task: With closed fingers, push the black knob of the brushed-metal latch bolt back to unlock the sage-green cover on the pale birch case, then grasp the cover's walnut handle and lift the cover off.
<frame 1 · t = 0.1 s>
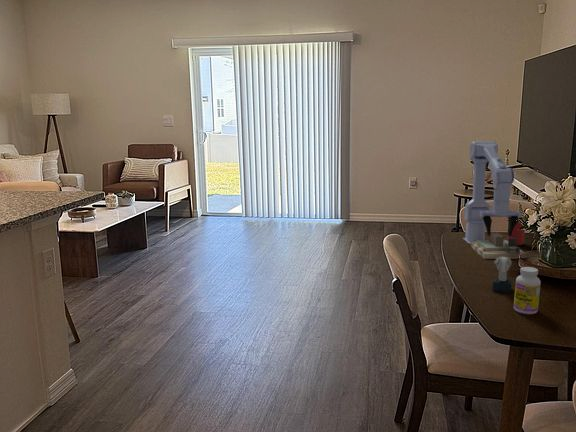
hand: (498, 235, 207), 10 cm above the table, fingers open, 7 cm apart
supplement bottle: (525, 311, 160), on the table
case: (497, 252, 220), on the table
beer can: (515, 244, 233), on the table
latch bolt: (510, 242, 215), point 5 cm above the table, slide at 0.0 cm
white and black piece: (501, 290, 178), on the table
cover: (495, 246, 222), point 2 cm above the table, touching case
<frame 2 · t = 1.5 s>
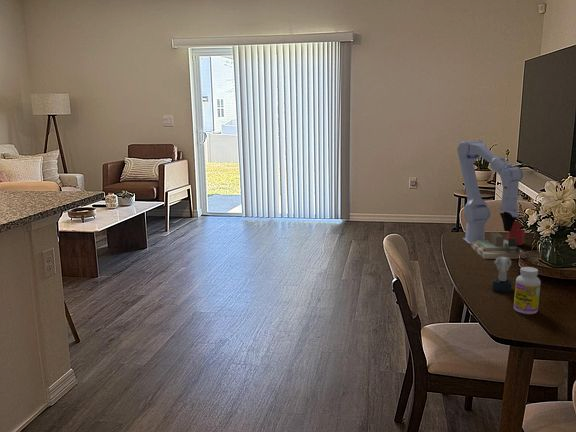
hand: (507, 230, 218), 9 cm above the table, fingers closed
nothing on the table moved.
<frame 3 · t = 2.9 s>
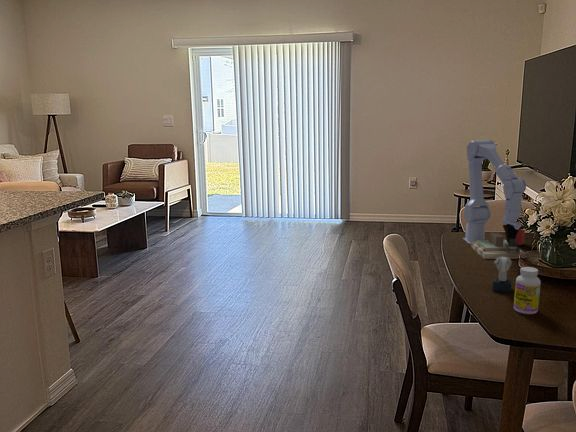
hand: (510, 243, 215), 5 cm above the table, fingers closed
latch bolt: (510, 242, 215), point 5 cm above the table, slide at 0.0 cm, touching gripper
everything else where it was.
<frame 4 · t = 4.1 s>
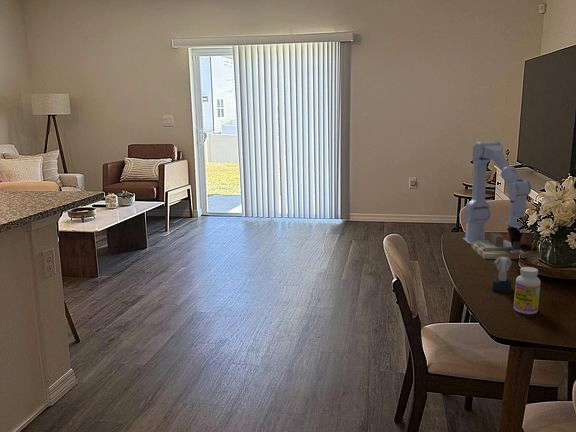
hand: (514, 246, 210), 5 cm above the table, fingers closed
latch bolt: (515, 245, 210), point 5 cm above the table, slide at 4.7 cm, touching gripper
everything else where it was.
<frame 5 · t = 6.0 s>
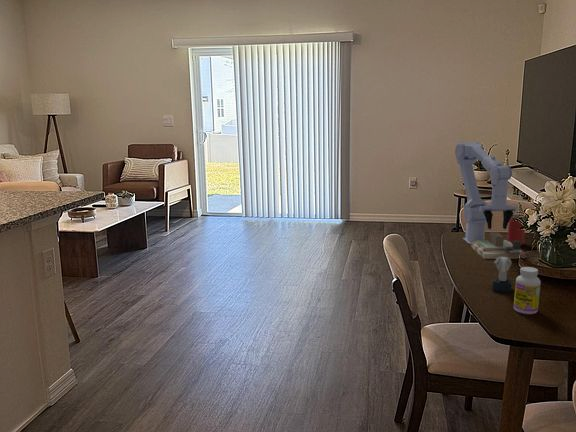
hand: (496, 228, 220), 9 cm above the table, fingers open, 5 cm apart
latch bolt: (514, 245, 210), point 5 cm above the table, slide at 4.6 cm
everything else where it was.
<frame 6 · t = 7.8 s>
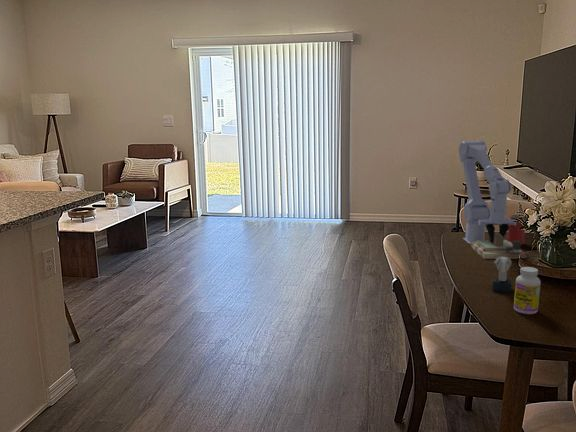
hand: (496, 242, 222), 4 cm above the table, fingers closed on cover, 3 cm apart
cover: (495, 246, 222), point 2 cm above the table, touching case, gripper
everything else where it was.
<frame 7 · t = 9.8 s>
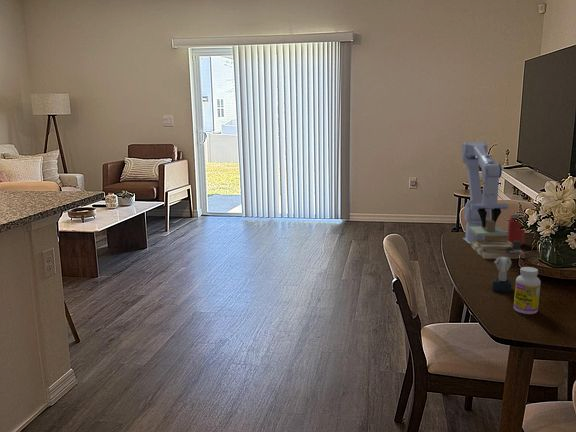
hand: (488, 226, 219), 10 cm above the table, fingers closed on cover, 3 cm apart
cover: (487, 232, 220), point 8 cm above the table, touching gripper
everything else where it was.
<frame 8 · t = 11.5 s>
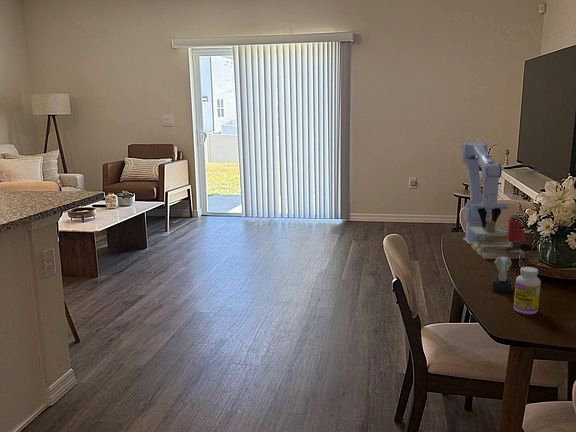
hand: (488, 226, 219), 10 cm above the table, fingers closed on cover, 3 cm apart
cover: (487, 232, 220), point 8 cm above the table, touching gripper
everything else where it was.
at the end: latch bolt slide at 4.6 cm; cover point 8.0 cm above the table; the gripper is holding cover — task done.
